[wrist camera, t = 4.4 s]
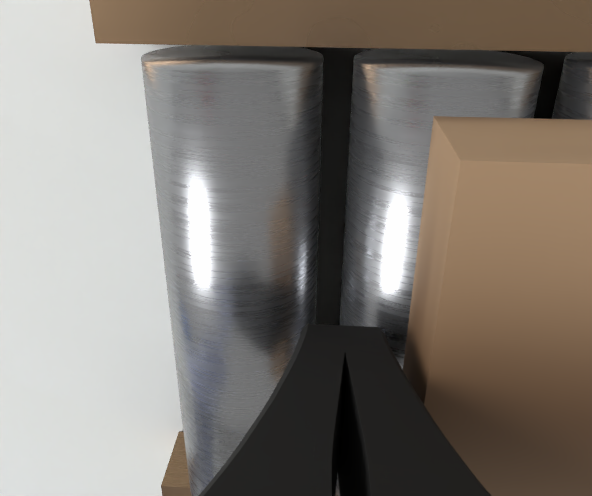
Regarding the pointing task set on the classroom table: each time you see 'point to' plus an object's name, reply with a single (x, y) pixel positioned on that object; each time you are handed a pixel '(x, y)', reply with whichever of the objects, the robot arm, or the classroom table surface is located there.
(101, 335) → the classroom table surface
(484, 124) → the slab
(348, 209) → the roller track
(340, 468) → the robot arm
